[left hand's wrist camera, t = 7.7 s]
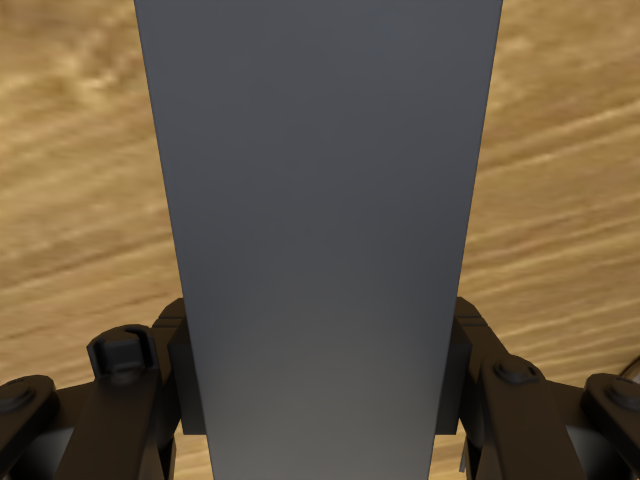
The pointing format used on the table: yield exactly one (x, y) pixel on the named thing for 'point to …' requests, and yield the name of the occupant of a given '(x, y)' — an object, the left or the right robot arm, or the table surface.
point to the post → (319, 218)
